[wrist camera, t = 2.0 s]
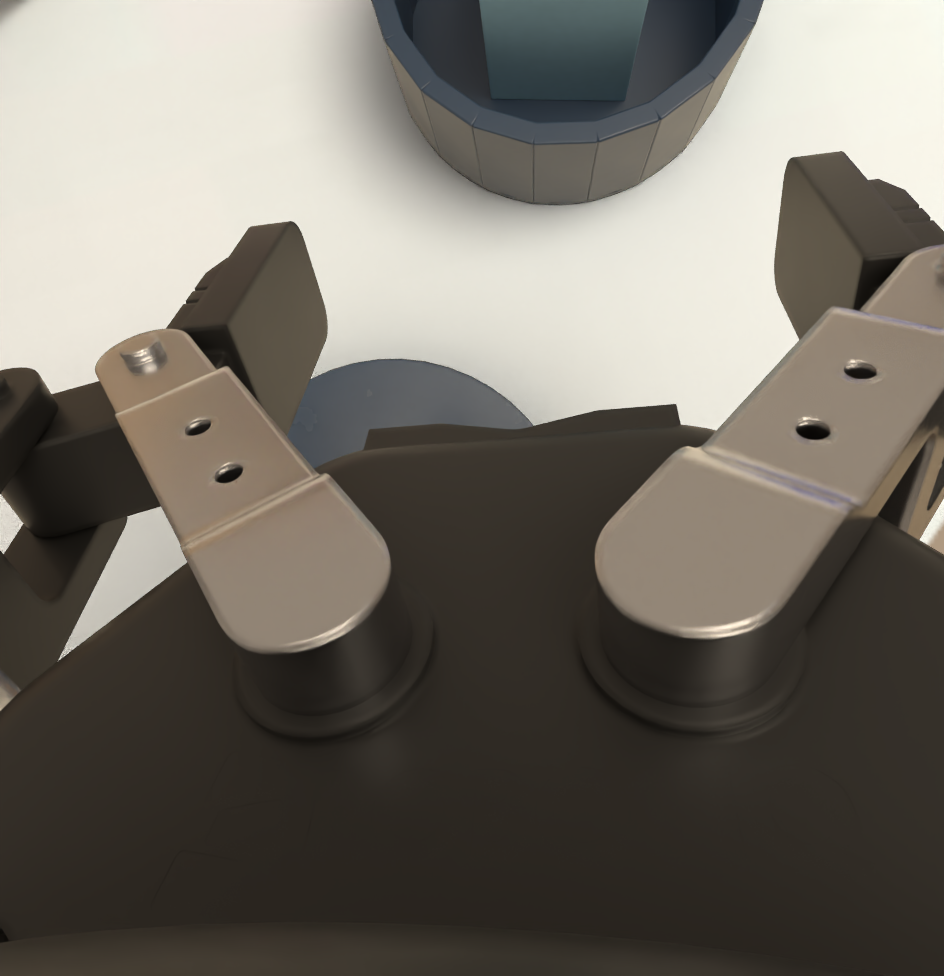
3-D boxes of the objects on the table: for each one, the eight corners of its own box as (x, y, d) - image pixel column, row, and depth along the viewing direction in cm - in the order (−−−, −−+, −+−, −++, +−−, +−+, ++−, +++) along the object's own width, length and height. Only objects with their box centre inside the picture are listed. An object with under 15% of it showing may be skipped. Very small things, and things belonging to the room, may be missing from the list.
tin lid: (183, 646, 30) (91, 689, 24) (287, 318, 29) (221, 276, 23) (508, 764, 29) (500, 841, 23) (622, 426, 28) (646, 411, 22)
